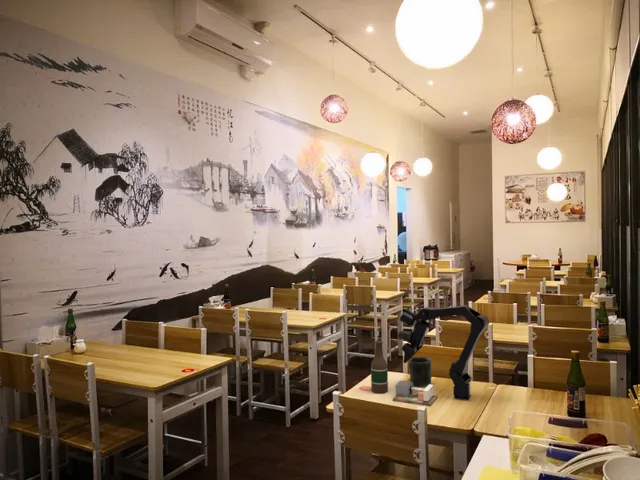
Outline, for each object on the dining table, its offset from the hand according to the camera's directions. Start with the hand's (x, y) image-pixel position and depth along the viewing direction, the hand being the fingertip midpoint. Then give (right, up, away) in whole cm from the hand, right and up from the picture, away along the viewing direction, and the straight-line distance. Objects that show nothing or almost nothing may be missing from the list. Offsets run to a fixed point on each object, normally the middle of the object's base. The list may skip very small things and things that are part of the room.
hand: (407, 360), depth 241 cm
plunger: (+3, -12, -17) cm, 21 cm away
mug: (+7, -13, +7) cm, 17 cm away
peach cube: (+2, -12, -21) cm, 24 cm away
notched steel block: (-3, -13, -13) cm, 18 cm away
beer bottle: (-14, -14, -4) cm, 20 cm away
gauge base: (+1, -14, -16) cm, 21 cm away
